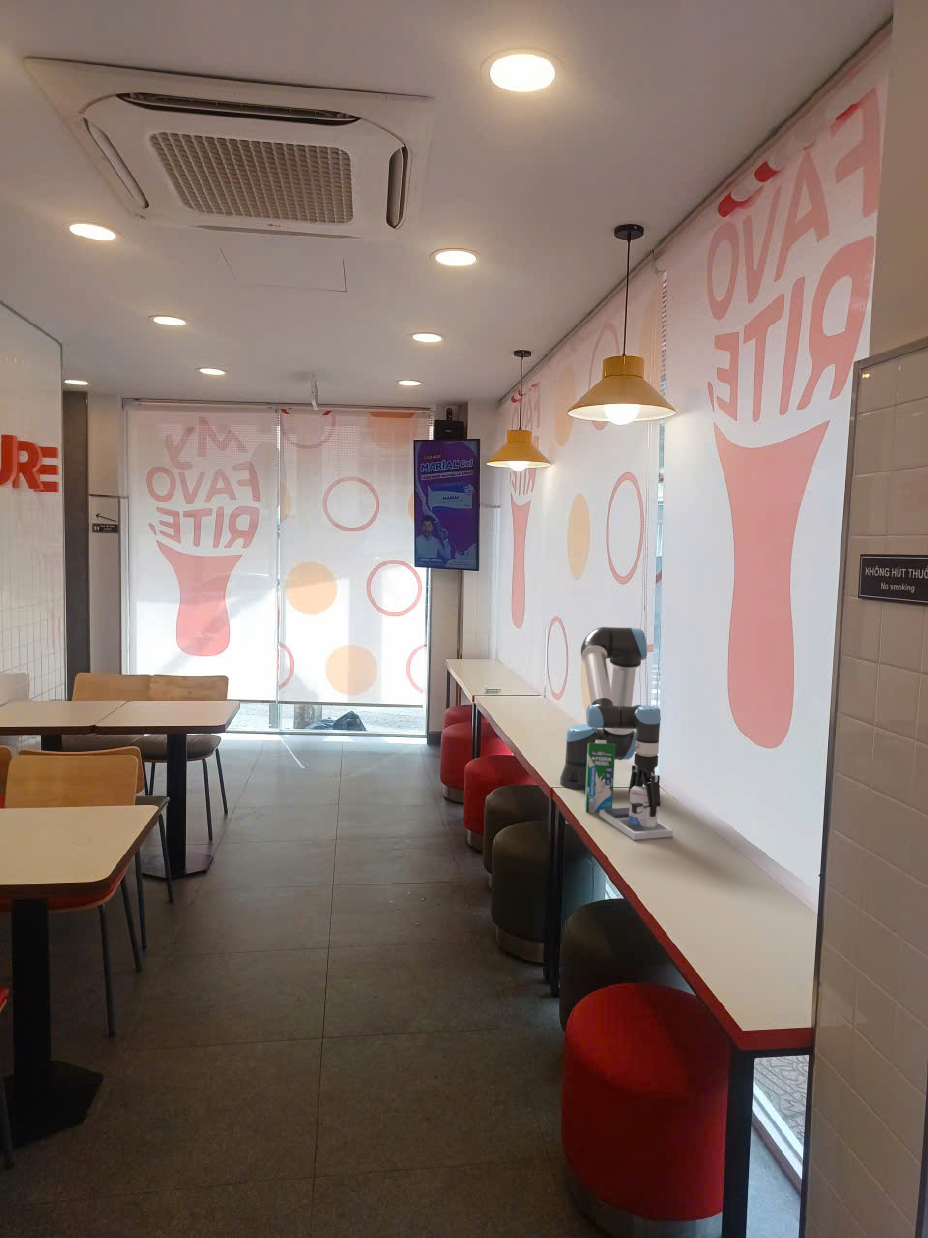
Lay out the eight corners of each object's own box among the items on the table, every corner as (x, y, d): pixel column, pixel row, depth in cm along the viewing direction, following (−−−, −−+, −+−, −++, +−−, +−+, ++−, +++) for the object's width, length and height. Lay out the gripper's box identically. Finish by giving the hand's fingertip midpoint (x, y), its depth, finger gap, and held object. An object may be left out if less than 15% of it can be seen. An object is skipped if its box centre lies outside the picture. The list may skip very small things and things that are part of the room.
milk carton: (609, 806, 298) (613, 738, 296) (611, 814, 290) (615, 743, 287) (584, 804, 299) (587, 736, 297) (585, 812, 290) (589, 742, 288)
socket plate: (599, 817, 286) (599, 810, 286) (635, 814, 290) (635, 807, 290) (634, 841, 263) (634, 833, 263) (672, 837, 267) (673, 830, 267)
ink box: (627, 823, 271) (629, 788, 270) (632, 819, 276) (634, 785, 275) (653, 828, 267) (655, 793, 266) (657, 824, 272) (659, 789, 271)
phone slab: (605, 811, 284) (605, 809, 284) (636, 809, 288) (636, 806, 288) (614, 818, 277) (614, 815, 277) (646, 815, 281) (646, 813, 281)
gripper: (620, 746, 279) (616, 811, 281) (653, 762, 258) (649, 833, 260) (640, 745, 281) (636, 809, 283) (674, 761, 260) (670, 831, 262)
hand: (642, 821), depth 272 cm, fingers closed on ink box, 9 cm apart
